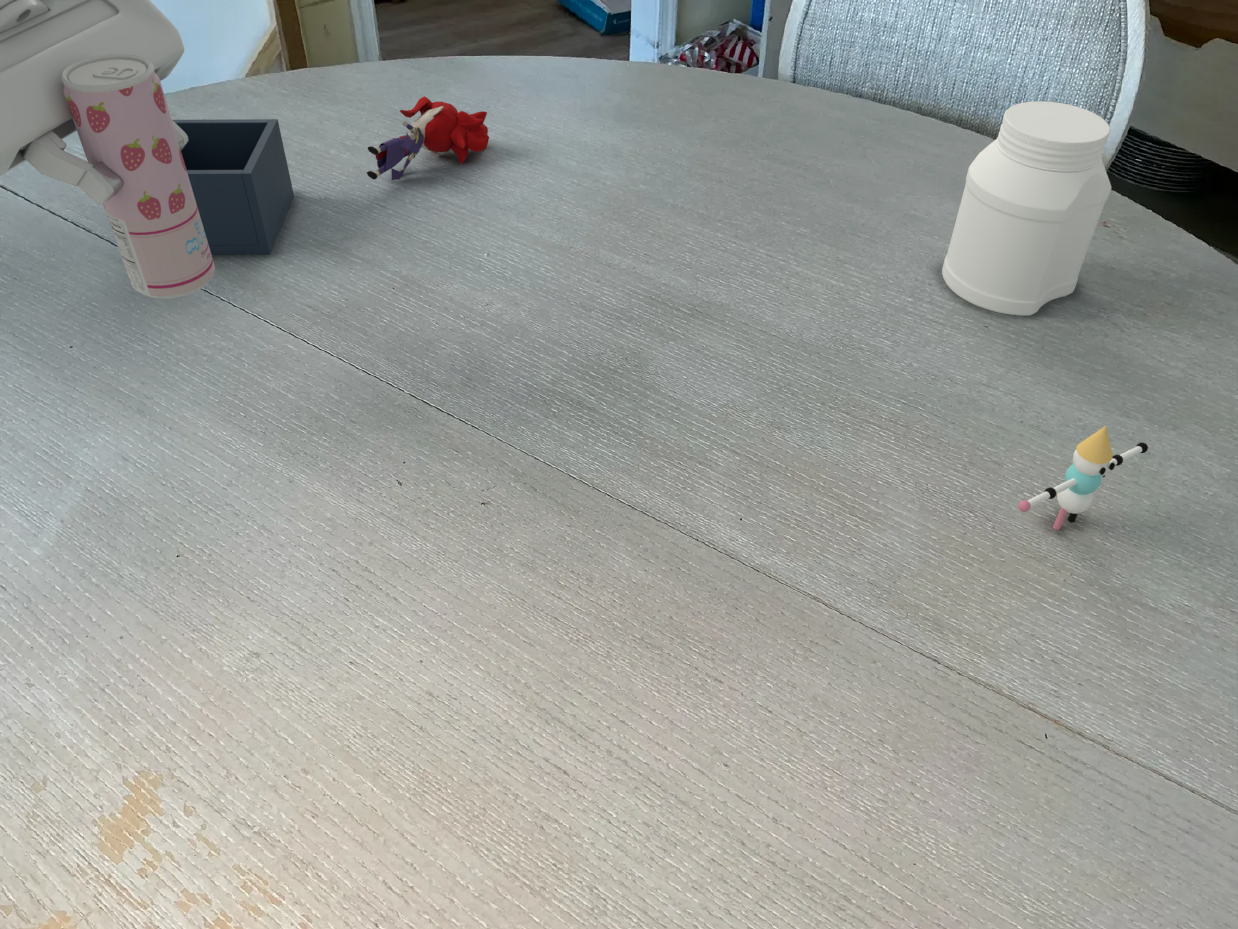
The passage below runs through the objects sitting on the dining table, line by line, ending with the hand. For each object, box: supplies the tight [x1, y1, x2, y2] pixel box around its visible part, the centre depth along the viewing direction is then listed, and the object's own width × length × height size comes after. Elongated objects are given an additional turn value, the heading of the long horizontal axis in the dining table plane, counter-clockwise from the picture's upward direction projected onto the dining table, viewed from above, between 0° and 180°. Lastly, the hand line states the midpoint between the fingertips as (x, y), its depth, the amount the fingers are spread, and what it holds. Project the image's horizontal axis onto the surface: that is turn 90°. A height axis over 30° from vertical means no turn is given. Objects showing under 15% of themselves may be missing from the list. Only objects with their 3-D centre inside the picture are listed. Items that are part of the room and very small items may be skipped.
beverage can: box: [61, 54, 216, 300], centre depth 67 cm, size 6×6×15 cm
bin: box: [172, 118, 295, 256], centre depth 95 cm, size 12×12×8 cm
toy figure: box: [1017, 425, 1149, 531], centre depth 66 cm, size 12×2×9 cm, turn 121°
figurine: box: [366, 95, 490, 181], centre depth 105 cm, size 6×8×15 cm
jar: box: [941, 100, 1112, 317], centre depth 87 cm, size 12×10×15 cm
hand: (147, 170), depth 67 cm, fingers closed on beverage can, 5 cm apart
